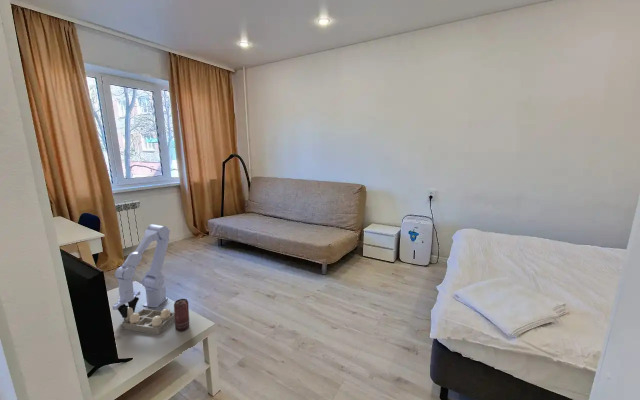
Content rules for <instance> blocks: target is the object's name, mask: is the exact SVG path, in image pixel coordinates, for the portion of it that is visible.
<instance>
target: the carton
mask: <svg viewBox="0 0 640 400" xmlns="http://www.w3.org/2000/svg"><path fill="white" fill-rule="evenodd" d="M161 312H162V310H155V309H149V308H142V309H141V310H139V311H138V312H137V313H138V314H139V316H140V321H139V322H138V323H136V324H130V319H129V320H125V321H124V322H123V323H122V325H123V330H128V331H133V332H142V333H149V334H155V335H159V334H161V333H162V332H163V331H164V330H166V328H167V327H168V326H169V325H171V324H172V323H173V322H175V315H174V312H173V311H172V312H171V311H170V318H168V319H167V320H164V319H162V325H161V326H159V327H158V328H157V327H152V319H153V318H154V317H155V316H160V317H161Z"/></svg>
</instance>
